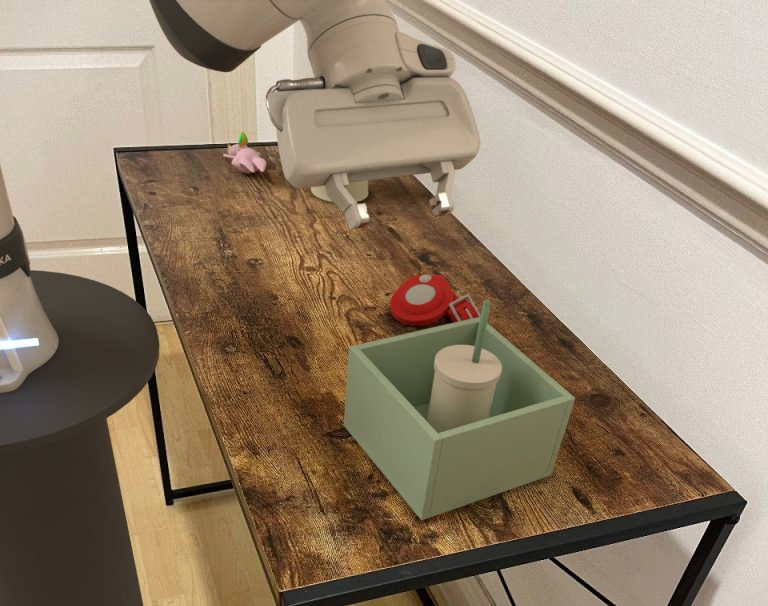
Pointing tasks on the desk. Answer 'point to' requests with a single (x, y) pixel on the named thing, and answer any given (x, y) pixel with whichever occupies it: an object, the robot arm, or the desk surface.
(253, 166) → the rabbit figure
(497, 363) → the paper cup
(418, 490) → the bin
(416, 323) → the red flat rounded piece
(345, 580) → the desk surface
